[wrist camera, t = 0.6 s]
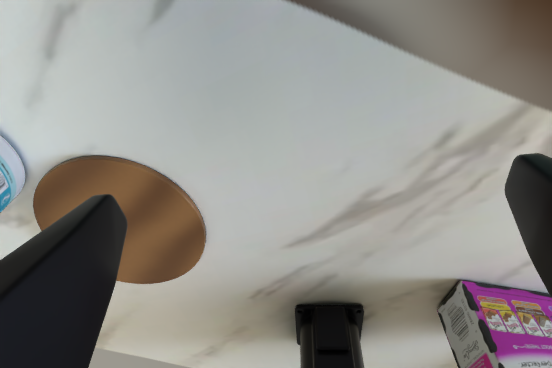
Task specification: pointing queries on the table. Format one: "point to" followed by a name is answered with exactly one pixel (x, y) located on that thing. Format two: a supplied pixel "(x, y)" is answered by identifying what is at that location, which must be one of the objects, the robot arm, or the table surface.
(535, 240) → the robot arm
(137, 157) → the table surface
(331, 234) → the table surface
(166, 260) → the disc
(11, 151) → the pill bottle
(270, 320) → the table surface
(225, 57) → the table surface
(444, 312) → the candy bar box
